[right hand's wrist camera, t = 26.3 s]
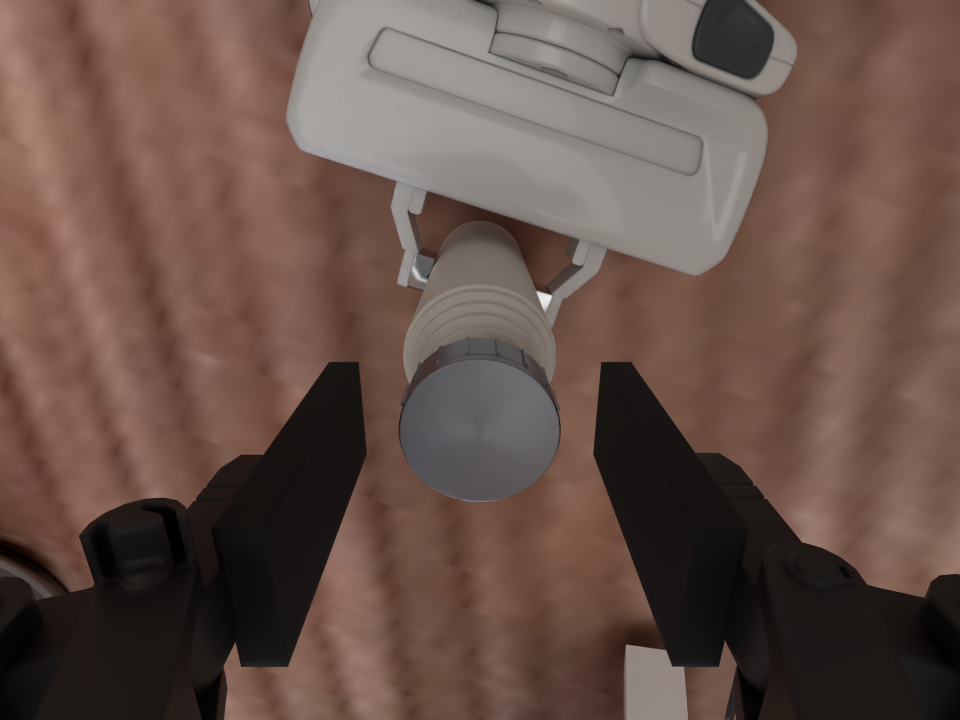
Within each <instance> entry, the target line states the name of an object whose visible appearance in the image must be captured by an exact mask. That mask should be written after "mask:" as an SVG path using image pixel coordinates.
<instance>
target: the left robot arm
mask: <svg viewBox="0 0 960 720" xmlns="http://www.w3.org/2000/svg"><path fill="white" fill-rule="evenodd" d="M308 3H309V9H310V13H311V16H312V20H311V23H310V26H309V29H308V31H307V34H306V37H305V40H304V44H303V47H302V50H301V53H300V56H299V60H298V64H297V67H296V71H295V75H294V79H293V82H292V87H291V91H290V95H289V100H288V105H287V110H286V123H287V126H288V128H289V130H290V132H291V134H292V136H293V139H294V141H295V143H296V145H297V147H298V148H299V149H300V150H302V151H304V152H307V153H310V154H313V155H317V156H320V157H323V158H326V159H329V160H332V161H335V162H338V163H341V164H345V165H348V166H351V167H354V168H357V169H360V170H363V171H366V172H370V173H373V174H376V175H379V176H382V177H385V178H388V179H391V180H394V181H397V182H396V186H395V190H394V195H393V199H392V203H391V210H392V213H393V217H394V221H395V224H396V228H397V231H398V235H399V238H400V242H401V245H402V249H405V252H404V256H403V260H402V264H401V268H400V272H399V276H398V280H397V284H399V285H402V286H404V287H409V288H412V289H416V290H419V291H424V289H425V286H426V284H427V281H428V279H429V276H430V273H431V271H432V269H433V266H434V264H435V261H436V257H437V252H434V251H431V250H428V249H425V248H422V243H421V239H420V235H419V231H418V227H417V223H416V219H415V215H414V214H417V215H419V214H420V213H421V212H422V211H423V210H424V209H425V207H426V204H427V200H428V197H429V193H430V192H432V193H435V194H438V195H441V196H444V197H447V198H451V199H454V200H457V201H460V202H463V203H466V204H469V205H472V206H476V207H479V208H482V209H485V210H488V211H491V212H494V213H497V214H501V215H504V216H507V217H510V218H513V219H516V220H519V221H522V222H525V223H529V224H532V225H535V226H538V227H541V228H544V229H547V230H550V231H554V232H557V233H560V234H563V235H566V236H569V237H571V238H570V241H569V244H568V247H567V250H566V252H565V253H566V256H567V257H568V258H569V259H570V260H571V262H572V263H570V264H569V265H568V266H567V267H566V268H565V269H564V270H563V271H562V272H561V273H559V274H558V275H557V276H556V277H555V278H554V279H553V280H552V281H551V282H550V283H548V284H547V286H545V285H541V284H538V283H534V282H533V284H534V287H535V290H536V292H537V295H538V297H539V300H540V302H541V305H542V307H543V310H544V312H545V315H546V317H547V320H548V323H549V325H550V328H552V326H553V324H554V322H555V319H556V316H557V314H558V311H559V308H560V306H561V303H562V301H563V298H564V299H566V298H568V297H569V296H570V295H571V294H572V293H574V292H575V291H576V290H577V289H579V288H580V287H581V286H582V285H583V284H585V283H586V282H587V281H588V280H590V279H591V278H592V277H593V276H594V275H596V274H597V273H598V272H599V269H600V267H601V264H602V262H603V259H604V257H605V254H606V252H607V249H610V250H613V251H616V252H619V253H622V254H625V255H628V256H631V257H635V258H638V259H641V260H644V261H647V262H650V263H653V264H656V265H660V266H663V267H666V268H669V269H672V270H675V271H678V272H681V273H685V274H688V275H691V276H699V275H701V274H703V273H705V272H707V271H708V270H710V269H711V268H713V267H714V266H716V265H717V264H719V263H720V262H721V261H722V260H723V259H724V257H725V256H726V254H727V252H728V251H729V249H730V247H731V245H732V243H733V240H734V238H735V236H736V234H737V232H738V229H739V227H740V225H741V222H742V220H743V218H744V215H745V213H746V210H747V208H748V205H749V203H750V200H751V197H752V195H753V192H754V189H755V186H756V183H757V180H758V178H759V175H760V172H761V169H762V165H763V162H764V159H765V155H766V150H767V144H768V126H767V121H766V118H765V115H764V113H763V111H762V109H761V108H760V106H759V105H758V104H757V103H756V102H755V101H754V100H755V99H758V98H761V97H764V96H767V95H770V94H772V93H774V92H776V91H777V90H779V89H780V88H781V86H782V85H783V84H784V82H785V81H786V79H787V77H788V76H789V74H790V72H791V70H792V67H793V65H794V63H795V60H796V57H797V51H798V49H797V43H796V41H795V39H794V37H793V36H792V35H791V33H790V32H789V31H788V30H787V29H786V28H785V27H784V26H783V25H782V24H781V23H780V22H779V21H778V20H777V19H775V18H774V17H773V16H772V15H771V14H770V13H769V12H768V11H767V10H766V9H765V8H764V7H763V6H761V5H760V4H759V3H758V2H757V1H756V0H308Z"/></svg>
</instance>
